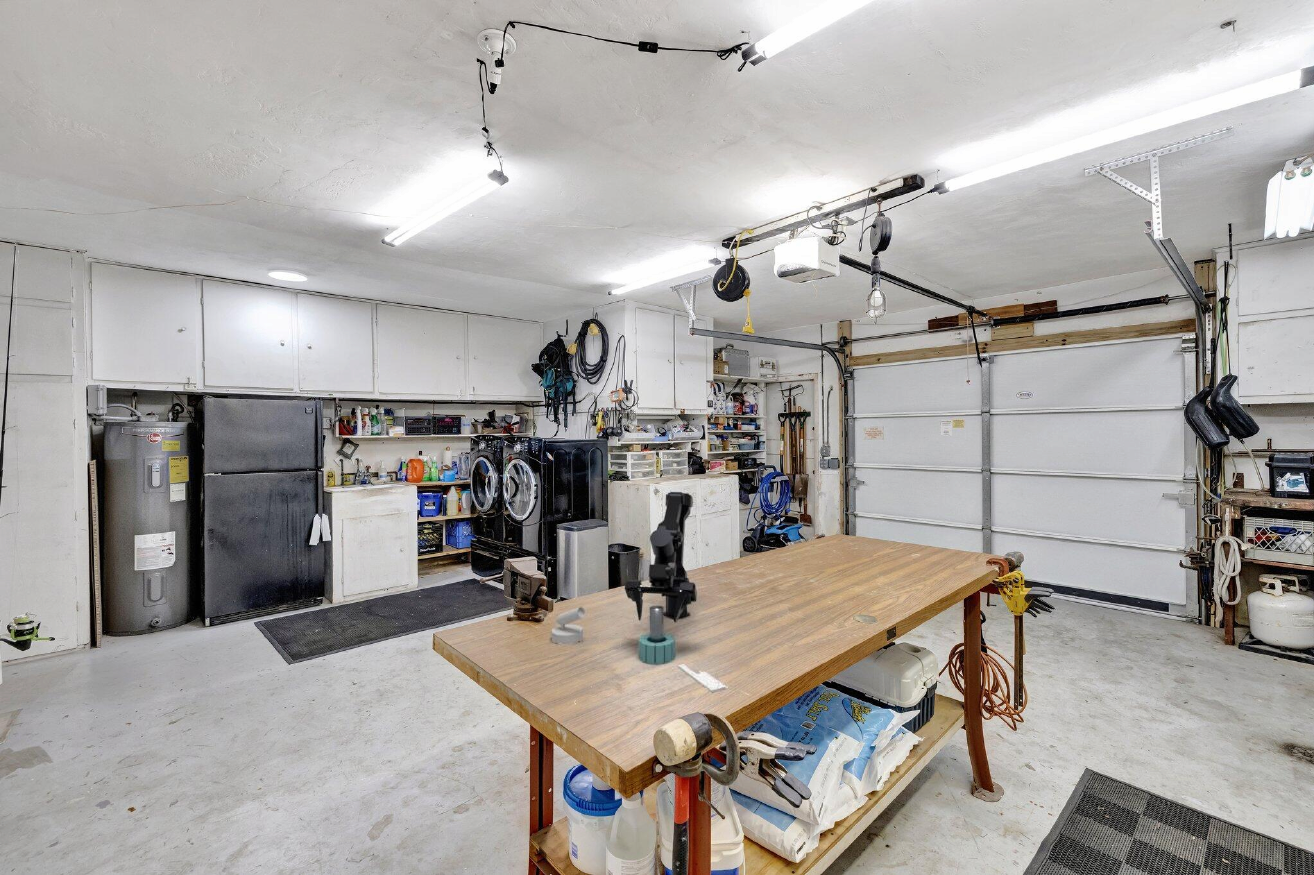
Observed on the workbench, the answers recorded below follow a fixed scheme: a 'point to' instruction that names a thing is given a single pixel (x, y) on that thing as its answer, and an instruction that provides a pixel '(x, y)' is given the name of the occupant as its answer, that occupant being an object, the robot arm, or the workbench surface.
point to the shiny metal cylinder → (656, 624)
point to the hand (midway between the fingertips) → (657, 620)
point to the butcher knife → (704, 679)
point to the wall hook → (568, 627)
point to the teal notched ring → (656, 650)
